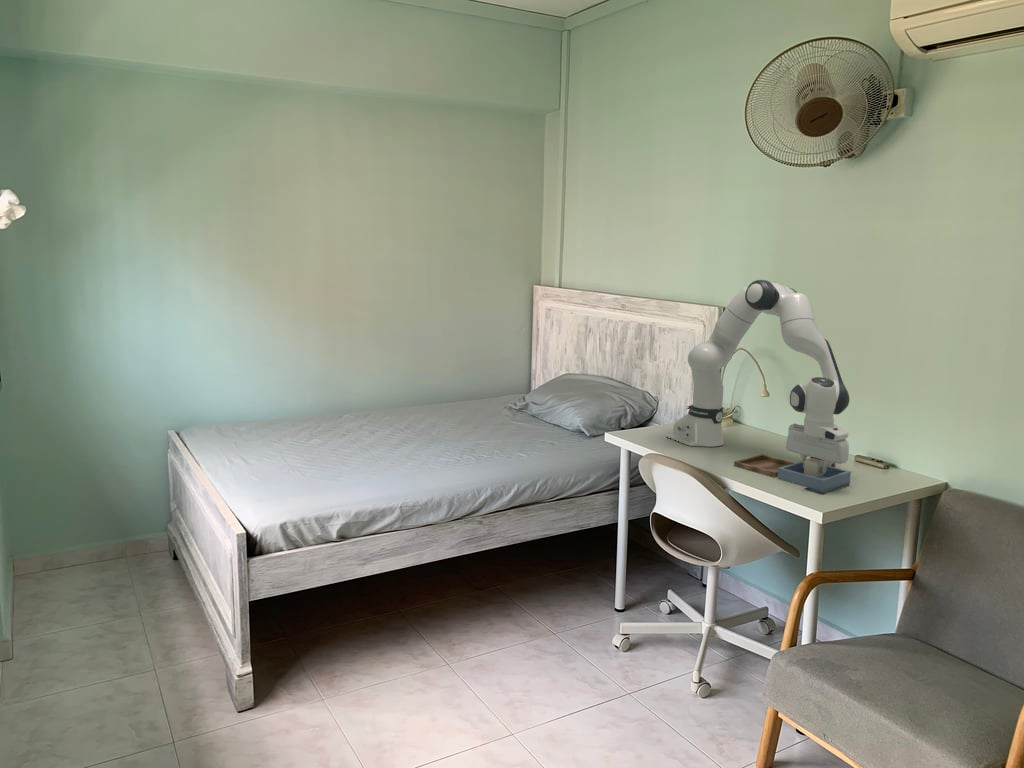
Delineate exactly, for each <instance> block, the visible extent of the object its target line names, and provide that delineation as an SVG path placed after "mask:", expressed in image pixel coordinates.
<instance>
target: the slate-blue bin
mask: <svg viewBox="0 0 1024 768" xmlns="http://www.w3.org/2000/svg"><path fill="white" fill-rule="evenodd" d="M793 463H794V464H791V465H787V466H784V467H780V468H778V477H776V478H777V479H778V480H781V481H785V482H789V483H793V484H794V485H798V486H803V487H805V488H803V489H804V490H806V491H810V492H812V491H813V493H817V494H820V495H824V493H825V494H827V492H828V493H831V492H834V491H836V489H837V490H840V489H842V488H841V487H843V488H845V486H846V487H848V486H850V484H851V476H852V475H851V474H852V471H849V470H846V469H842V468H838V467H831V466H828V467H827V470H826V473H824V475H822V476H819V477H814V476H810V475H807V474H804V468H803V462H802V460H801V461H798V462H793ZM847 485H848V486H847ZM839 488H840V489H839ZM833 490H834V491H833Z"/></svg>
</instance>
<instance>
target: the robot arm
mask: <svg viewBox="0 0 1024 768" xmlns="http://www.w3.org/2000/svg"><path fill="white" fill-rule="evenodd" d="M761 313H764V314H766V315H770V316H771V315H772V316H777V317H779V321H780V331H781V337H782V340H783V341H784V344H785V345H786V346H788V347H789V348H790V349H791V350H792V351H793V350H794V351H796V352H799V353H801V354H804V355H806V356H808V357H811V358H812V359H814V360H815V361H816V362H817V363H818V365H819V367H820V371H821V374H822V377H819V376H817V377H812V378H810V380H809V381H807V382H806V383H799V384H796V385H795V386H794V387H792V389H791V390H790V395H789V405H790V406H791V408H792V409H793V410H794V411H795V412H798V413H801V414H805V416H804V419H803V424H797V423H793V424H790V425H789V426H788V431H787V433H788V434H787V438H786V441H785V449H786V451H788V452H790V453H796V454H798V455H799V456H800V457H799V458H800V460H801V461H802V462H803V468H804V465H805V460H808V459H807V458H808V457H810V458H811V457H814V458H818V459H822V460H823V463H825V464H824V466H822V467H820V470H819V472H820V473H826V470H827V467H828V466H829V465H830V463H831V462H834V463H836V464H837V465H843V464H846V463H847V462H848V460H849V454H850V452H849V451H850V450H849V449H850V447H849V442H848V440H847V439H848V437H849V433H848V431H846V430H844V429H843V428H841V427H839V426H838V425H837V424H835V418H834V415H840V414H842V413H843V412H844V411H845V410H846V409H847V408H848V406H849V404H850V395H849V392H848V389H847V388H846V386H845V384H844V381H843V379H842V377H841V376H842V375H841V373H840V369H839V367H838V364H837V361H836V357H835V355H834V351H833V349H832V347H831V344H830V343H829V341H828V339H826V338H825V337H823V335H822V334H821V333H820V331H819V330H818V328H817V325H816V318H815V314H814V310H813V307H812V304H811V301H810V299H809V297H808V296H807V295H806V294H804V293H801V292H798V291H797V290H795V289H793V288H791V287H789V286H788V287H787V286H786V285H784V284H782V283H776V282H772V281H770V280H766V279H757V280H754V281H752V282H751V283H750V284H749V285H748V286H744V287H743V288H742V289H740V290H739V292H738V293H736V295H735V296H734V297H733V298H732V299H731V300H730V301H729V303H728V304H727V306H726V307H725V308H724V311H723V312H722V313H721V314H720V316H719V318H718V319H717V321H716V322H715V324H714V328H713V330H712V332H711V335H710V337H709V338H708V339H707V341H705V342H702V343H699V344H697V345H695V346H694V347H693V348H692V349H691V350H690V351H689V352H688V354H687V363H688V366H689V367H690V370H691V375H692V384H693V388H692V389H693V390H692V392H693V393H692V404H690V405H687V406H686V410H688V413H687V414H685V415H684V416H682V417H681V418H679V419H678V420H676V421H675V422H674V424H673V428H672V431H670V432H668V433H667V434H666V436H665V437H666V438H667V437H668V439H670V438H671V439H670V440H673V441H675V440H676V441H675V442H678V441H679V443H681V444H684V445H687V446H688V447H689V446H690V447H711V448H712V447H719V446H724V444H725V440H724V436H723V424H722V423H723V422H722V421H723V418H724V407H723V401H724V399H723V398H724V385H723V383H722V378H721V369H722V368H724V367H726V366H727V365H728V364H729V363H730V362H731V360H732V359H733V356H734V354H735V351H736V350H737V348H738V346H739V344H740V343H741V341H742V339H743V337H744V336H745V335H746V334H747V332H748V330H749V329H750V328H751V326H752V325H753V323H754V322H755V321H756V319H758V316H759V315H760V314H761Z"/></svg>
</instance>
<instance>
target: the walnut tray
mask: <svg viewBox="0 0 1024 768" xmlns="http://www.w3.org/2000/svg"><path fill="white" fill-rule="evenodd" d="M794 463H795V462H792V461H789V460H786V459H781V458H777V457H773V456H770V455H766V454H758V455H757V454H756V455H754V456H751V457H747V458H743V459H739V460H735V461H734V462H733V467H737V468H740V469H743V470H746V471H750V472H754V473H757V474H761V475H765V476H767V477H771V478H773V479H774V478H778V468H780V467H784V466H787V465H791V464H794Z"/></svg>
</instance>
